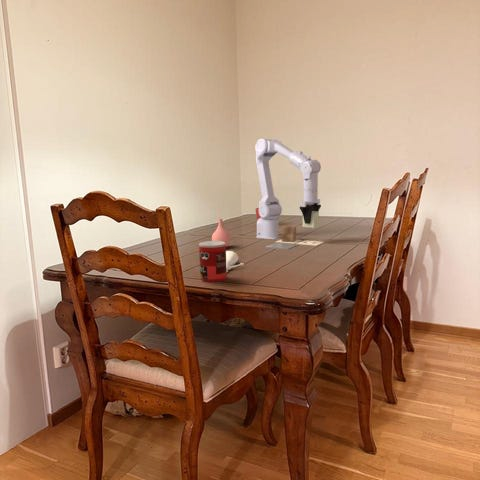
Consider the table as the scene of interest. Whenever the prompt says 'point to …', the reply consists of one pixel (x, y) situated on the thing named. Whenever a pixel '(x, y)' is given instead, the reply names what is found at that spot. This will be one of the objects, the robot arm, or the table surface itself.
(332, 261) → the table surface
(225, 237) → the perfume bottle
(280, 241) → the plain tile
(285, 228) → the walnut block
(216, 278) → the canned food
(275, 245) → the light grey square plate
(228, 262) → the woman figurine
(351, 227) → the table surface
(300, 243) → the tile
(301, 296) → the table surface
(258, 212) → the flower pot
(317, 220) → the sage block
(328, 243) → the table surface
